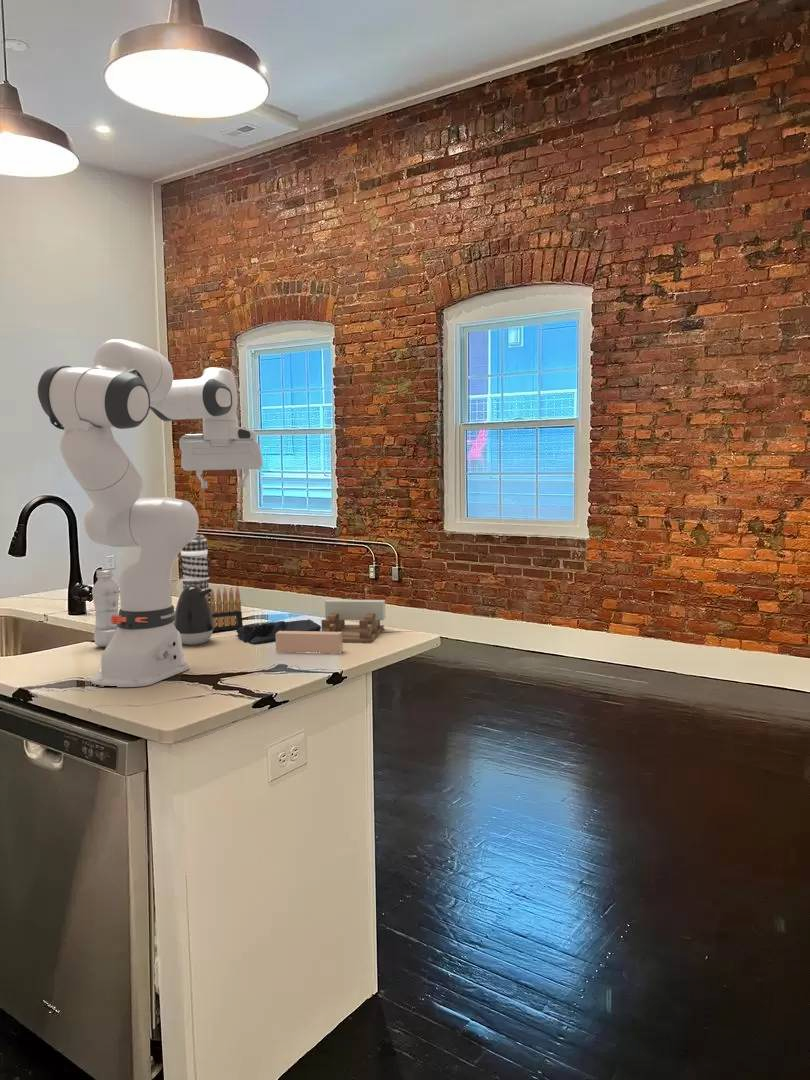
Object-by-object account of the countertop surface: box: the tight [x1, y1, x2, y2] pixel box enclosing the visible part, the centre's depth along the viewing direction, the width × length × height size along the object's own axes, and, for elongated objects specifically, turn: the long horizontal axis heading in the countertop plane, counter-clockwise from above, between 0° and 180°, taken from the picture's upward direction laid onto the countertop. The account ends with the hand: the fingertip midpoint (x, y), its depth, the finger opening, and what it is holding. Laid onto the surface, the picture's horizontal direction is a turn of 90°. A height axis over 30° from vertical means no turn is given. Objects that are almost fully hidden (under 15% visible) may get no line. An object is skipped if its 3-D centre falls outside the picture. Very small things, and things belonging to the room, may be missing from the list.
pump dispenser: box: [173, 585, 214, 646], centre depth 206 cm, size 10×10×15 cm
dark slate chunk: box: [236, 619, 322, 645], centre depth 214 cm, size 15×22×5 cm
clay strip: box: [275, 631, 344, 654], centre depth 194 cm, size 16×3×5 cm, turn 80°
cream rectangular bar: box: [324, 599, 387, 621], centre depth 216 cm, size 16×3×5 cm, turn 80°
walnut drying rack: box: [321, 613, 385, 644], centre depth 212 cm, size 17×14×6 cm
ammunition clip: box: [205, 586, 244, 632], centre depth 222 cm, size 11×2×12 cm, turn 113°
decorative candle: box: [178, 534, 211, 605], centre depth 242 cm, size 9×9×25 cm
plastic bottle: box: [91, 568, 120, 648], centre depth 204 cm, size 6×7×20 cm
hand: (223, 487), depth 203 cm, fingers open, 8 cm apart
